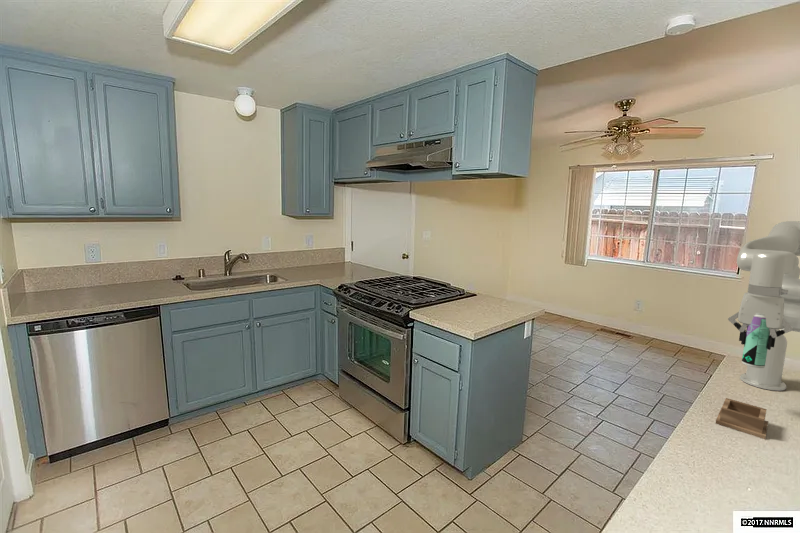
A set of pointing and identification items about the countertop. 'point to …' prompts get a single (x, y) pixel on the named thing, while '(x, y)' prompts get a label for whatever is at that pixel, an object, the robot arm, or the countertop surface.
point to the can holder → (743, 418)
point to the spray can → (756, 342)
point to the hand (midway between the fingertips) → (755, 345)
